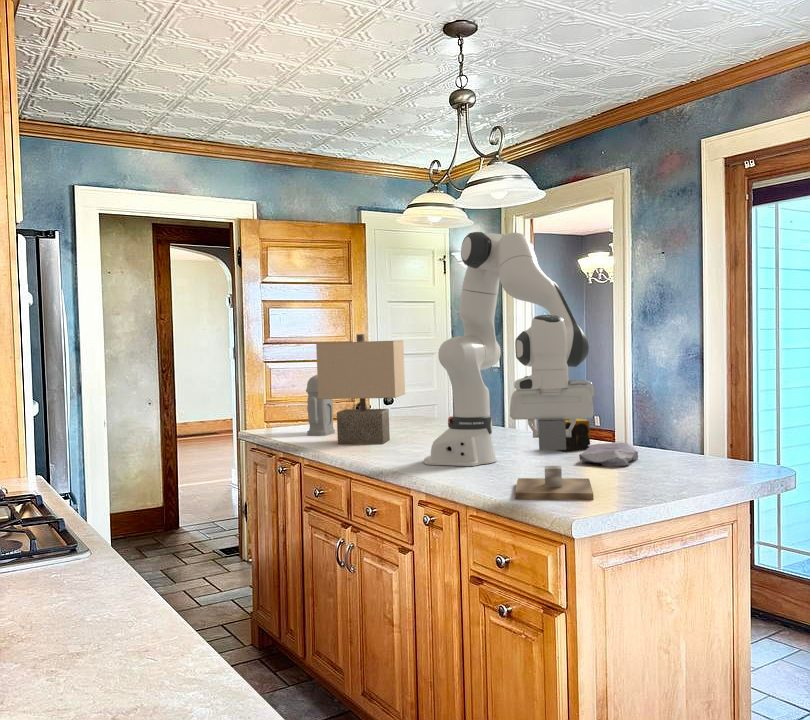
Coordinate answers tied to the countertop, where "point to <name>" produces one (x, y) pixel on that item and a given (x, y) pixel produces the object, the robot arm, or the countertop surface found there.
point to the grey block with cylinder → (552, 434)
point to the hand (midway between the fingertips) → (551, 437)
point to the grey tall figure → (318, 411)
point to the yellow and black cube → (578, 435)
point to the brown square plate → (554, 486)
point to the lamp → (361, 384)
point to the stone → (610, 454)
